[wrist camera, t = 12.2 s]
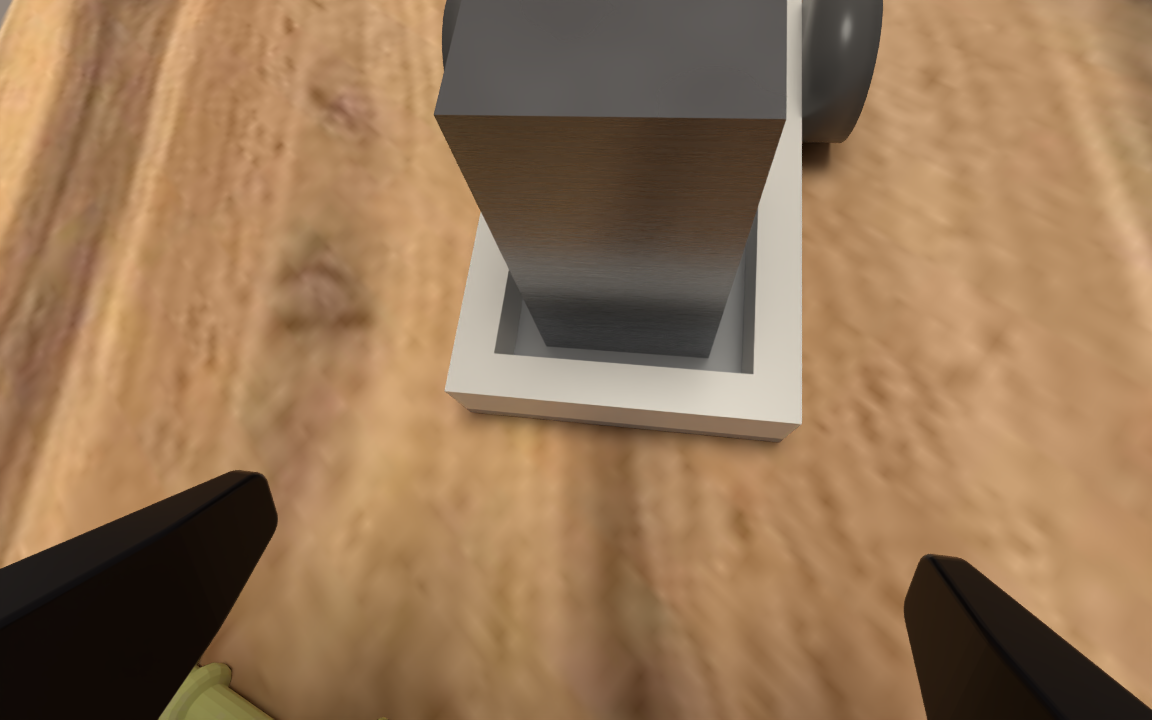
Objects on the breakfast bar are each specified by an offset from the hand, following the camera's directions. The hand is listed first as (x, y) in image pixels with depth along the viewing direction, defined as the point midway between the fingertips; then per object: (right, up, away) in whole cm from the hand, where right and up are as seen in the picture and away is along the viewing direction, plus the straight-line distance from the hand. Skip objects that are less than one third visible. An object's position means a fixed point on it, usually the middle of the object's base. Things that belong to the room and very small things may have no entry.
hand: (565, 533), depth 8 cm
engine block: (+2, +5, +10) cm, 12 cm away
